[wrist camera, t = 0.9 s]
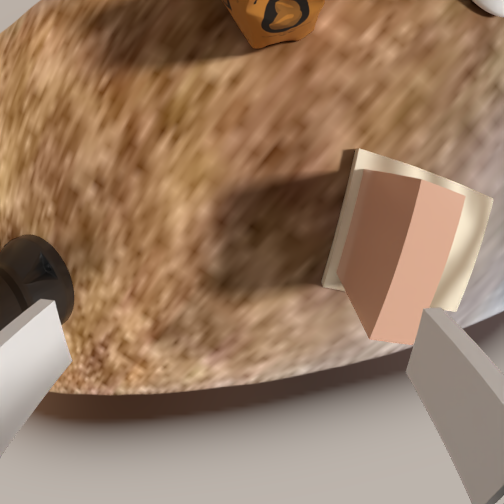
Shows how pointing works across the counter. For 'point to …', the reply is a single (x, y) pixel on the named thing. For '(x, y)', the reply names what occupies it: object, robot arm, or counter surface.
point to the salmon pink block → (397, 251)
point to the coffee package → (274, 19)
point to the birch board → (464, 240)
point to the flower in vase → (491, 6)
